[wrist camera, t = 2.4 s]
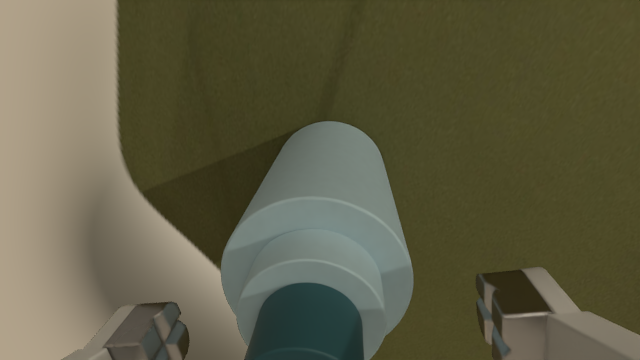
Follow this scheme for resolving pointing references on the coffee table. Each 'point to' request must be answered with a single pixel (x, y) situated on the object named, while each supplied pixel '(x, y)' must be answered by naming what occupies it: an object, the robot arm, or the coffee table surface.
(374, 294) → the bottle
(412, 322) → the coffee table surface
